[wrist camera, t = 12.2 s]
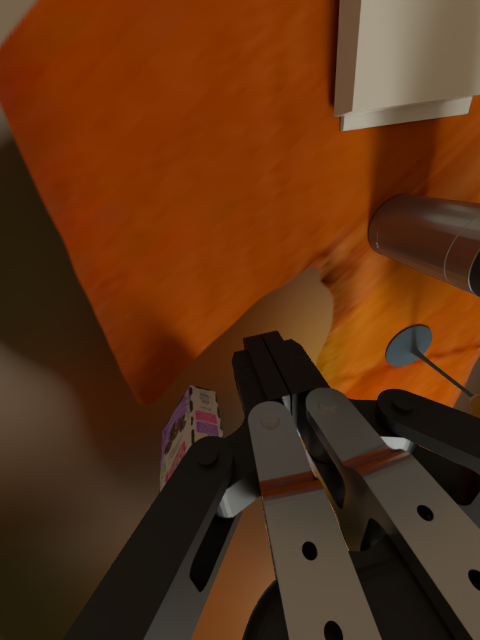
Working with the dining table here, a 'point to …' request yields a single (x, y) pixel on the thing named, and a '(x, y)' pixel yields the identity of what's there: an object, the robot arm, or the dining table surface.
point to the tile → (406, 54)
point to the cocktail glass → (421, 356)
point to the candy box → (188, 427)
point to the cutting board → (405, 114)
